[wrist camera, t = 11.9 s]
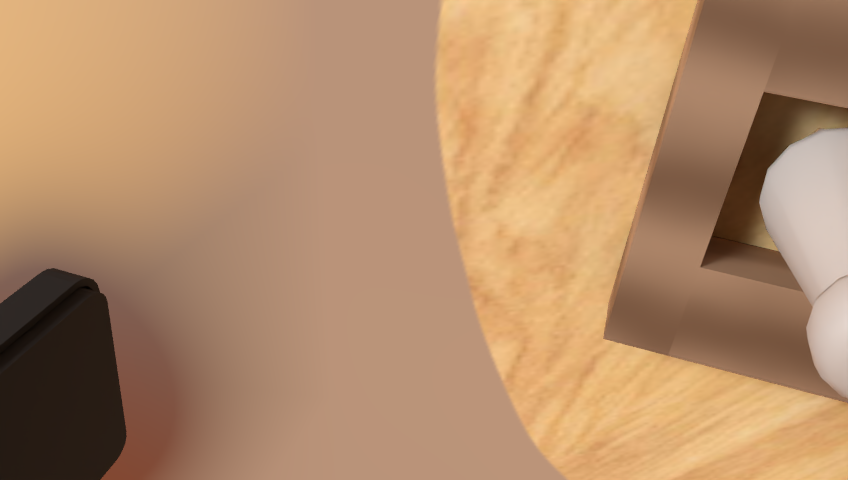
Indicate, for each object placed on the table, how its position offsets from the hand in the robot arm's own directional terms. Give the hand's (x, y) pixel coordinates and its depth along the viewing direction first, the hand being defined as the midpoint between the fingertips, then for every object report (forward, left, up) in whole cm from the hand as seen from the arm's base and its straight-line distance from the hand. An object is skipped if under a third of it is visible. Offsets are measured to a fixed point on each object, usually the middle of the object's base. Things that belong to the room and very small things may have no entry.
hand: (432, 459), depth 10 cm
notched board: (+6, +9, -26) cm, 28 cm away
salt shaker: (+6, +11, -26) cm, 29 cm away
